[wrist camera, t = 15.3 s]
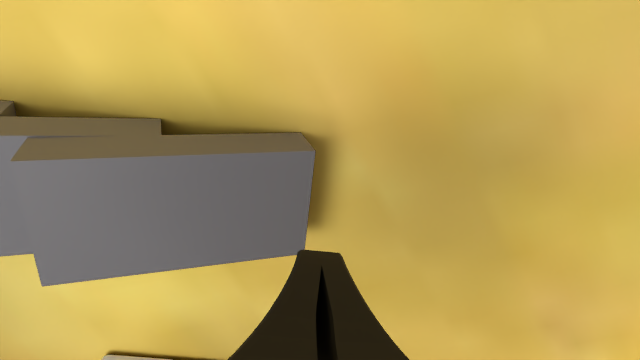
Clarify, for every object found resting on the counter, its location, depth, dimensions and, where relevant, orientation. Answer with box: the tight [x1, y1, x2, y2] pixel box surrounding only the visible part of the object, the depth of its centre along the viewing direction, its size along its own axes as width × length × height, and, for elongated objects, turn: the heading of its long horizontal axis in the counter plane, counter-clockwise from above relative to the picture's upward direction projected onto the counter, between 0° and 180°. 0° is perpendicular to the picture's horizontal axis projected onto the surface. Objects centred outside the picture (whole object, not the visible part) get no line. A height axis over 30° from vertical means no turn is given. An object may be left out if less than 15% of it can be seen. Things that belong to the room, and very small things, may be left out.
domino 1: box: [0, 116, 162, 256], centre depth 16 cm, size 5×2×10 cm
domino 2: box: [10, 133, 315, 286], centre depth 16 cm, size 5×2×10 cm
